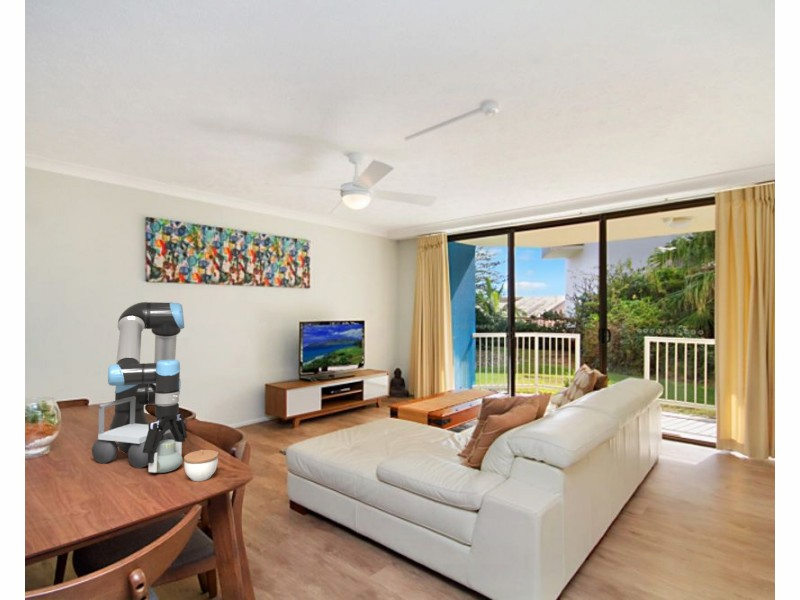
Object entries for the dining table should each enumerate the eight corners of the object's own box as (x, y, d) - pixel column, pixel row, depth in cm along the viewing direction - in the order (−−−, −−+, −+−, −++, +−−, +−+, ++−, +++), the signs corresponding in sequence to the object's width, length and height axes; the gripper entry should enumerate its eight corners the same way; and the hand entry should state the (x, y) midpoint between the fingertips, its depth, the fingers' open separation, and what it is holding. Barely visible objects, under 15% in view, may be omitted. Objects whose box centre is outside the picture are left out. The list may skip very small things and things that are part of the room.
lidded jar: (182, 486, 140) (183, 457, 140) (184, 474, 150) (185, 447, 150) (218, 481, 144) (218, 453, 144) (217, 470, 154) (218, 443, 154)
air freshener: (185, 469, 154) (186, 441, 154) (163, 477, 147) (164, 447, 147) (167, 463, 159) (168, 436, 160) (144, 470, 152) (145, 442, 152)
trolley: (124, 450, 173) (125, 395, 173) (177, 456, 167) (179, 399, 167) (89, 463, 158) (91, 403, 159) (146, 470, 153) (148, 408, 153)
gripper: (150, 412, 141) (148, 479, 141) (198, 397, 164) (197, 455, 164) (131, 410, 143) (129, 477, 143) (181, 396, 166) (180, 453, 165)
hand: (165, 465), depth 153 cm, fingers open, 11 cm apart
